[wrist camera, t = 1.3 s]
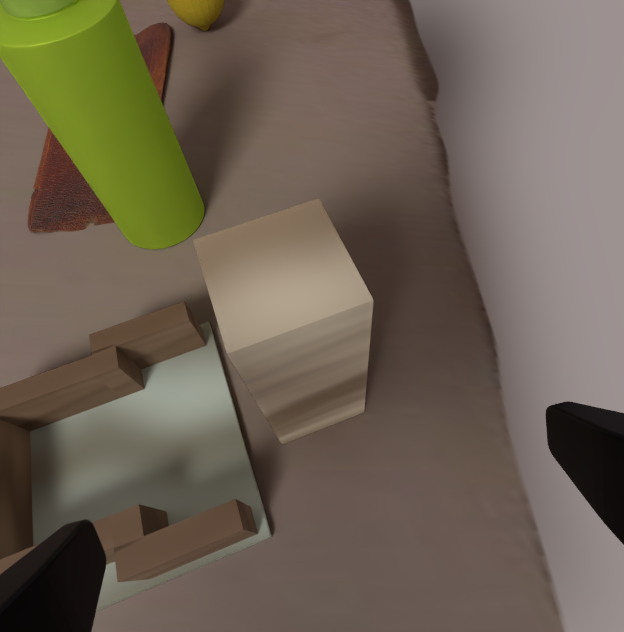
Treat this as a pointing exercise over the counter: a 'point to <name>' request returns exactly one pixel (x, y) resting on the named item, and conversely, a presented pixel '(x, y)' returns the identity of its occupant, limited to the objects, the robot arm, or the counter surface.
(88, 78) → the soap dispenser
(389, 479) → the counter surface
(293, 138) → the counter surface
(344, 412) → the birch post
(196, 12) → the lemon
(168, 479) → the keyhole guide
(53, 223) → the wooden tablet
